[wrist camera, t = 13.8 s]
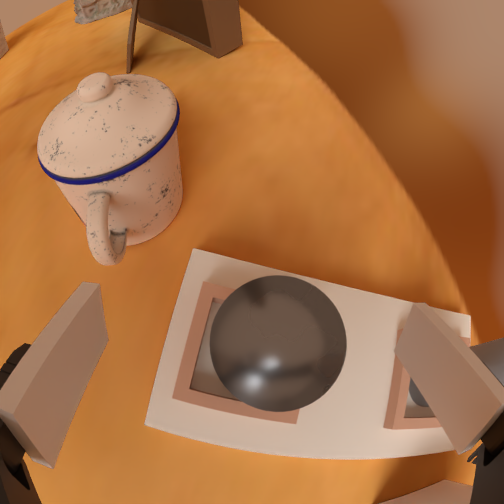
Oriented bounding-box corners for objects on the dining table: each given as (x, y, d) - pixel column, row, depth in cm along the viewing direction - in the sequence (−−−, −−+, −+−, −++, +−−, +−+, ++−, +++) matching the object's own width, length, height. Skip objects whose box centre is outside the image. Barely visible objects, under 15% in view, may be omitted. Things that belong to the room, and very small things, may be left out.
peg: (205, 380, 16) (193, 394, 7) (221, 318, 18) (229, 260, 9) (269, 395, 16) (332, 420, 7) (283, 333, 18) (354, 292, 9)
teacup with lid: (89, 163, 23) (49, 59, 12) (185, 152, 25) (181, 34, 14) (72, 292, 19) (-25, 212, 8) (191, 284, 20) (171, 181, 10)
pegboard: (149, 421, 16) (74, 471, 5) (194, 256, 21) (182, 140, 10) (444, 447, 17) (549, 454, 6) (459, 319, 22) (556, 277, 11)
